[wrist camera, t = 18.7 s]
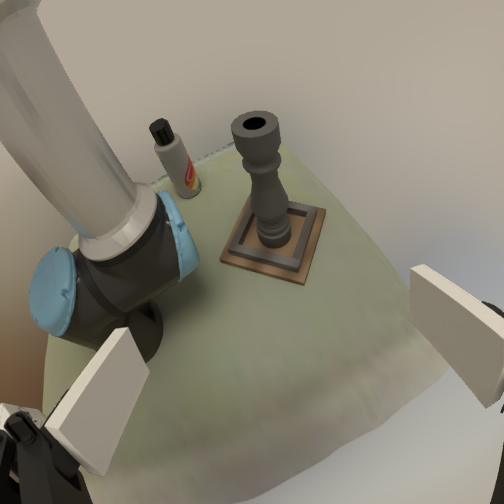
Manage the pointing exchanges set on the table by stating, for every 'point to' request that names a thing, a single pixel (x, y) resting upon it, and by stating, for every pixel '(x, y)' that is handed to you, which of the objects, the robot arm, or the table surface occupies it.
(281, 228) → the candle holder
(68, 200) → the robot arm
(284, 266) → the socket plate
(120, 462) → the table surface
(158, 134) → the lotion bottle
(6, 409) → the ink box
